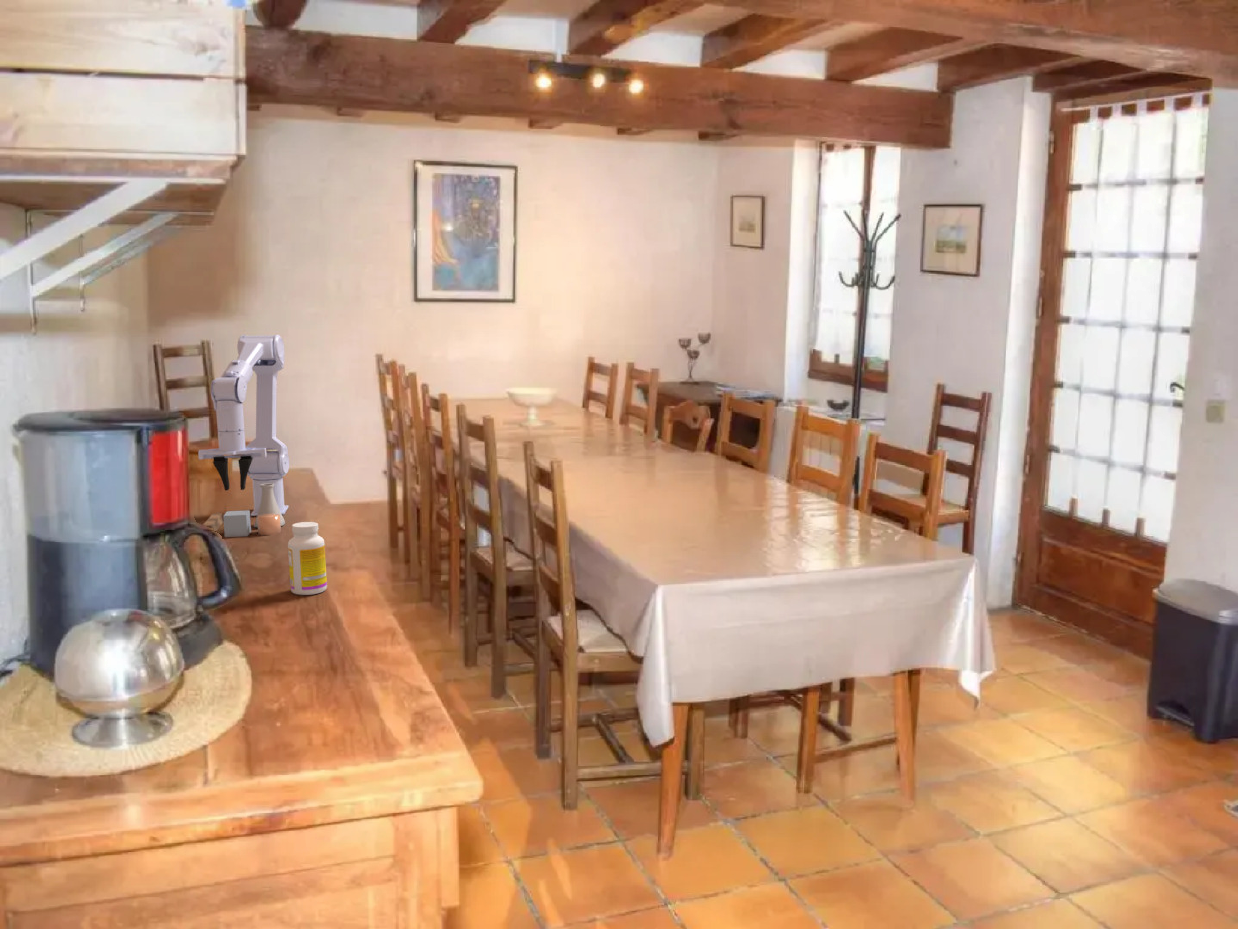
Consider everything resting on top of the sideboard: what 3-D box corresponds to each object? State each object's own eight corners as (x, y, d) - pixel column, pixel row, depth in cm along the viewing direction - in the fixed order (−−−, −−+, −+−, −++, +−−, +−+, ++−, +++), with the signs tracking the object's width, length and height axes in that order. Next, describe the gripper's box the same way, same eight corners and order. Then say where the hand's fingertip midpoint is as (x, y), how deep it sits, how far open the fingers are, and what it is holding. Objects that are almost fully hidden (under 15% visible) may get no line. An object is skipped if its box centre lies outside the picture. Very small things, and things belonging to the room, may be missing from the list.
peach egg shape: (260, 530, 262) (258, 514, 261) (282, 530, 262) (281, 513, 262) (256, 535, 257) (255, 518, 256) (279, 534, 257) (278, 517, 257)
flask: (290, 522, 270) (287, 481, 268) (278, 529, 263) (275, 487, 261) (261, 522, 271) (258, 481, 269) (248, 529, 263) (245, 487, 262)
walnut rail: (214, 523, 269) (213, 513, 269) (222, 523, 270) (222, 512, 269) (202, 536, 256) (201, 526, 255) (211, 536, 256) (211, 525, 256)
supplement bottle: (334, 588, 213) (331, 522, 211) (311, 597, 207) (307, 529, 205) (306, 584, 216) (303, 519, 214) (282, 593, 210) (278, 526, 208)
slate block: (228, 532, 260) (227, 511, 260) (251, 531, 261) (249, 510, 260) (224, 537, 256) (223, 515, 255) (247, 536, 256) (246, 514, 256)
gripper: (193, 433, 249) (198, 493, 252) (261, 431, 252) (265, 491, 254) (200, 429, 256) (204, 488, 258) (266, 427, 258) (269, 485, 261)
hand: (235, 489), depth 257 cm, fingers open, 3 cm apart
